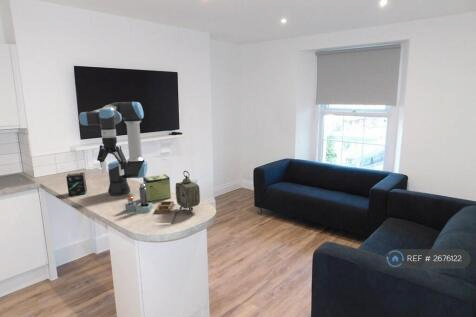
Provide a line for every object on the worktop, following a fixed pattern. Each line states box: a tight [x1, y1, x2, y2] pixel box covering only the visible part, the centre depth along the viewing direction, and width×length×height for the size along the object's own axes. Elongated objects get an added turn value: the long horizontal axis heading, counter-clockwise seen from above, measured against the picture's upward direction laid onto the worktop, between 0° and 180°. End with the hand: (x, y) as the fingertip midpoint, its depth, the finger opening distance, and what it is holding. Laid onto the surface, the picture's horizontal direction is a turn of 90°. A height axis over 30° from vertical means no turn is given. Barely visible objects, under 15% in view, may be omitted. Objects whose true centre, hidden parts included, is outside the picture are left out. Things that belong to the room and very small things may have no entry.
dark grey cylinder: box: [138, 183, 149, 207], centre depth 191 cm, size 4×4×16 cm
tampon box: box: [65, 171, 88, 197], centre depth 229 cm, size 11×9×15 cm
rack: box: [153, 200, 176, 215], centre depth 193 cm, size 16×10×3 cm, turn 1°
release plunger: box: [126, 195, 135, 205], centre depth 191 cm, size 4×4×5 cm
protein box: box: [142, 173, 172, 203], centre depth 213 cm, size 10×16×16 cm
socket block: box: [124, 201, 155, 215], centre depth 192 cm, size 12×15×5 cm
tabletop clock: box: [175, 170, 201, 215], centre depth 190 cm, size 14×9×25 cm, turn 37°
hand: (113, 174), depth 180 cm, fingers open, 13 cm apart
